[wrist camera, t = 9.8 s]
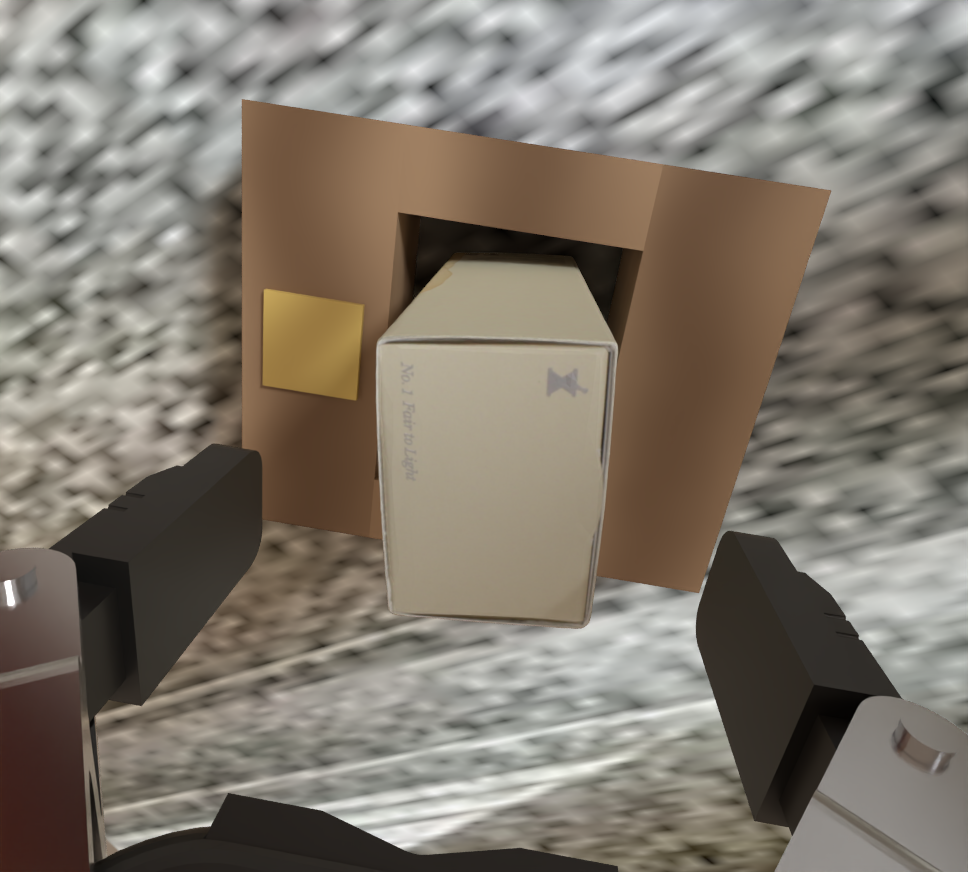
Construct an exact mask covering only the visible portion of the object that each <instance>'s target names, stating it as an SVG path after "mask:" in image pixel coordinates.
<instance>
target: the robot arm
mask: <svg viewBox="0 0 968 872" xmlns="http://www.w3.org/2000/svg"><path fill="white" fill-rule="evenodd" d="M261 536H262V459H261V455H260V453H259V452H258V451H256V450H250V449H244V448H238V447H232V446H226V445H220V444H211V445H210V446H208V447H207V448H206V449H204V450H203V451H202V452H200V453H199V454H198V455H197V456H195V457H194V458H193V459H191V460H190V461H189V462H188V463H186V464H185V465H184V466H174V467H172V468H169V469H166V470H164V471H161V472H158V473H156V474H153V475H150V476H148V477H146V478H145V479H143V480H142V481H141V482H139V483H138V484H137V485H135V486H134V487H132V488H131V489H130V490H128V491H127V492H126V495H125V496H124V495H122V496H120V497H119V498H117V499H116V500H115V501H113V502H112V503H111V504H109V507H108V509H105V508H104V509H102V510H101V511H100V512H98V513H97V514H96V515H94V516H93V517H92V518H90V519H89V520H87V521H86V522H85V523H83V524H82V525H81V526H79V527H78V528H77V529H75V530H74V531H72V532H71V533H70V534H68V535H67V536H66V537H64V538H63V539H61V540H60V541H59V542H57V543H56V544H55V545H53V546H52V547H51V548H49V549H44V548H20V549H11V550H6V551H0V872H618V866H614V865H608V864H603V863H598V862H592V861H587V860H582V859H576V858H571V857H566V856H560V855H555V854H550V853H544V852H539V851H534V850H528V849H523V848H514V849H500V850H487V851H473V852H460V853H447V854H433V855H417V854H412V853H409V852H407V851H404V850H402V849H400V848H398V847H396V846H394V845H392V844H390V843H388V842H386V841H384V840H382V839H380V838H377V837H375V836H373V835H371V834H369V833H367V832H365V831H363V830H361V829H359V828H357V827H355V826H353V825H351V824H349V823H346V822H344V821H342V820H340V819H338V818H336V817H334V816H332V815H330V814H328V813H326V812H324V811H321V810H315V809H310V808H305V807H299V806H294V805H289V804H283V803H278V802H273V801H267V800H262V799H257V798H251V797H246V796H241V795H235V794H230V793H228V795H227V797H226V798H225V800H224V802H223V804H222V806H221V808H220V810H219V812H218V814H217V816H216V818H215V819H214V821H213V823H212V825H211V827H199V828H193V829H188V830H182V831H177V832H172V833H169V834H165V835H162V836H158V837H155V838H152V839H148V840H145V841H143V842H140V843H137V844H135V845H132V846H130V847H127V848H125V849H122V850H120V851H118V852H116V853H114V854H112V855H110V856H108V857H107V850H106V849H107V848H106V837H105V825H104V812H103V799H102V787H101V774H100V761H99V749H98V736H97V726H96V718H95V715H96V714H97V713H98V712H99V710H100V709H101V708H102V707H103V706H104V705H105V703H106V702H107V701H108V700H112V701H117V702H123V703H128V704H134V705H139V706H142V705H143V704H144V702H145V701H146V700H147V699H148V697H149V696H150V695H151V693H152V692H153V691H154V690H155V688H156V687H157V686H158V684H159V683H160V682H161V681H162V679H163V678H164V677H165V675H166V674H167V673H168V672H169V670H170V669H171V668H172V666H173V665H174V664H175V663H176V661H177V660H178V659H179V657H180V656H181V655H182V654H183V652H184V651H185V650H186V648H187V647H188V646H189V645H190V643H191V642H192V641H193V639H194V638H195V637H196V635H197V634H198V633H199V632H200V630H201V629H202V628H203V626H204V625H205V624H206V623H207V621H208V620H209V619H210V617H211V616H212V615H213V614H214V612H215V611H216V610H217V608H218V607H219V606H220V605H221V603H222V602H223V601H224V599H225V598H226V597H227V596H228V594H229V593H230V592H231V590H232V589H233V588H234V587H235V585H236V584H237V583H238V581H239V580H240V579H241V578H242V576H243V575H244V574H245V572H246V571H247V570H248V569H249V567H250V566H251V565H252V563H253V561H254V559H255V557H256V555H257V552H258V549H259V546H260V542H261ZM858 637H859V635H858V633H857V632H856V631H855V629H854V628H853V626H852V625H851V623H850V622H849V621H846V616H845V614H844V613H843V611H842V610H841V609H840V607H839V606H838V604H837V603H836V601H835V600H834V598H833V597H832V595H831V594H830V593H829V592H827V591H826V590H825V589H824V588H823V587H821V586H820V585H819V584H818V583H817V582H815V581H814V580H813V579H812V578H810V577H809V576H808V575H807V574H806V573H803V572H797V570H796V569H795V567H794V566H793V564H792V563H791V561H790V559H789V558H788V556H787V555H786V553H785V552H784V550H783V548H782V547H781V545H780V544H779V542H778V541H777V540H776V539H775V538H770V537H764V536H758V535H752V534H746V533H740V532H734V531H727V532H726V533H725V534H724V535H723V536H722V538H721V540H720V543H719V545H718V548H717V552H716V555H715V558H714V561H713V564H712V567H711V570H710V573H709V576H708V579H707V582H706V585H705V588H704V591H703V594H702V597H701V601H700V604H699V607H698V612H697V618H696V638H697V644H698V647H699V650H700V653H701V656H702V659H703V663H704V666H705V669H706V672H707V675H708V678H709V681H710V684H711V687H712V691H713V694H714V697H715V700H716V703H717V706H718V709H719V712H720V715H721V719H722V722H723V725H724V728H725V731H726V734H727V737H728V740H729V743H730V747H731V750H732V753H733V756H734V759H735V762H736V765H737V768H738V771H739V775H740V778H741V781H742V784H743V787H744V790H745V793H746V796H747V799H748V803H749V806H750V809H751V812H752V815H753V818H754V821H757V822H763V823H768V824H774V825H779V826H784V827H789V829H790V831H791V834H792V838H791V840H790V842H789V844H788V846H787V848H786V850H785V852H784V854H783V856H782V858H781V860H780V862H779V864H778V866H777V868H776V870H775V872H968V735H967V734H966V733H965V732H964V731H962V730H961V729H960V728H958V727H957V726H956V725H954V724H953V723H951V722H950V721H948V720H947V719H946V718H944V717H942V716H940V715H939V714H937V713H935V712H933V711H931V710H929V709H927V708H925V707H923V706H921V705H918V704H916V703H913V702H910V701H907V700H904V699H902V698H901V696H900V695H899V693H898V692H897V690H896V689H895V688H894V686H893V685H892V683H891V682H890V680H889V679H888V677H887V676H886V674H885V673H884V671H883V670H882V669H881V667H880V666H879V664H878V663H877V661H876V660H875V658H874V657H873V655H872V654H871V652H870V651H869V650H868V648H867V647H866V645H865V644H864V642H863V641H862V640H859V639H858Z"/></svg>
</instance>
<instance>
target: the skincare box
mask: <svg viewBox="0 0 968 872" xmlns="http://www.w3.org/2000/svg"><path fill="white" fill-rule="evenodd" d="M617 358H618V345H617V343H616V341H615V339H614V337H613V335H612V333H611V331H610V329H609V327H608V325H607V323H606V322H605V320H604V318H603V316H602V314H601V312H600V310H599V308H598V306H597V304H596V302H595V300H594V298H593V296H592V294H591V292H590V291H589V288H588V286H587V284H586V282H585V280H584V278H583V276H582V274H581V272H580V270H579V268H578V266H577V264H576V262H575V260H574V258H573V257H571V256H561V255H544V254H522V253H454V254H453V255H452V257H451V258H450V259H449V260H448V261H447V262H446V263H445V264H444V266H443V267H442V268H441V269H440V270H439V271H438V272H437V274H436V275H435V276H434V277H433V278H432V279H431V280H430V281H429V283H428V284H427V285H426V286H425V287H424V288H423V290H422V291H421V292H420V293H419V294H418V295H417V297H416V298H415V299H414V300H413V301H412V302H411V304H410V305H409V306H408V307H407V308H406V309H405V310H404V311H403V313H402V314H401V315H400V316H399V317H398V318H397V319H396V321H395V322H394V323H393V324H392V325H391V326H390V327H389V328H388V329H387V331H386V332H385V333H384V334H383V335H382V336H381V337H380V338H379V339H378V341H377V345H376V422H377V451H378V474H379V488H380V504H381V506H380V510H381V523H382V536H383V552H384V563H385V578H386V590H387V598H388V608H389V611H390V612H391V613H392V614H395V615H400V616H412V617H425V618H439V619H449V620H461V621H474V622H483V623H499V624H512V625H528V626H545V627H556V628H573V629H578V628H583V627H585V626H586V625H587V624H588V623H589V621H590V618H591V611H592V604H593V597H594V590H595V583H596V575H597V566H598V559H599V551H600V543H601V535H602V527H603V519H604V511H605V501H606V489H607V477H608V466H609V457H610V445H611V433H612V420H613V407H614V395H615V377H616V366H617Z"/></svg>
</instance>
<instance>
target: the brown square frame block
mask: <svg viewBox="0 0 968 872" xmlns="http://www.w3.org/2000/svg"><path fill="white" fill-rule="evenodd" d="M830 193H831V190H824V189H818V188H811V187H805V186H798V185H792V184H786V183H779V182H773V181H766V180H760V179H753V178H747V177H740V176H734V175H728V174H721V173H715V172H708V171H702V170H695V169H689V168H682V167H676V166H669V165H663V164H657V163H650V162H644V161H637V160H631V159H624V158H618V157H611V156H605V155H599V154H592V153H586V152H579V151H573V150H566V149H560V148H553V147H547V146H540V145H534V144H528V143H521V142H515V141H508V140H502V139H495V138H489V137H482V136H476V135H470V134H463V133H457V132H450V131H444V130H437V129H431V128H424V127H418V126H411V125H405V124H399V123H392V122H386V121H379V120H373V119H366V118H360V117H353V116H347V115H341V114H334V113H328V112H321V111H315V110H308V109H302V108H295V107H289V106H282V105H276V104H270V103H263V102H257V101H250V100H244V99H242V448H244V449H250V450H256V451H258V452H259V453H260V455H261V459H262V519H263V520H269V521H275V522H281V523H287V524H293V525H299V526H305V527H310V528H316V529H322V530H328V531H334V532H340V533H346V534H352V535H358V536H364V537H370V538H376V539H382V540H383V536H382V523H381V510H380V506H381V504H380V488H379V474H378V451H377V422H376V345H377V341H378V339H379V338H380V337H381V336H382V335H383V334H384V333H385V332H386V331H387V329H388V328H389V327H390V326H391V325H392V324H393V323H394V322H395V321H396V319H397V318H398V317H399V316H400V315H401V314H402V313H403V311H404V310H405V309H406V308H407V307H408V306H409V305H410V304H411V302H412V300H413V290H414V280H415V270H416V260H417V251H418V241H419V231H420V221H421V216H425V217H432V218H438V219H444V220H451V221H457V222H463V223H470V224H476V225H482V226H489V227H495V228H501V229H508V230H514V231H520V232H527V233H533V234H539V235H546V236H552V237H558V238H565V239H571V240H577V241H584V242H590V243H596V244H603V245H609V246H615V247H622V248H623V252H622V256H621V261H620V265H619V270H618V274H617V279H616V284H615V288H614V293H613V297H612V302H611V306H610V311H609V315H608V320H607V325H608V327H609V329H610V331H611V333H612V335H613V337H614V339H615V341H616V343H617V345H618V358H617V366H616V377H615V395H614V407H613V420H612V433H611V445H610V457H609V466H608V477H607V489H606V501H605V511H604V519H603V527H602V535H601V543H600V551H599V559H598V566H597V575H596V576H601V577H607V578H613V579H619V580H625V581H631V582H637V583H643V584H648V585H654V586H660V587H666V588H672V589H678V590H684V591H690V592H696V593H699V591H700V588H701V585H702V582H703V579H704V576H705V573H706V570H707V567H708V564H709V561H710V558H711V555H712V552H713V549H714V546H715V543H716V540H717V537H718V534H719V531H720V528H721V524H722V521H723V518H724V515H725V512H726V509H727V506H728V503H729V500H730V497H731V494H732V491H733V488H734V485H735V482H736V479H737V476H738V473H739V470H740V467H741V464H742V461H743V458H744V455H745V452H746V448H747V445H748V442H749V439H750V436H751V433H752V430H753V427H754V424H755V421H756V418H757V415H758V412H759V409H760V406H761V403H762V400H763V397H764V394H765V391H766V388H767V385H768V382H769V379H770V376H771V372H772V369H773V366H774V363H775V360H776V357H777V354H778V351H779V348H780V345H781V342H782V339H783V336H784V333H785V330H786V327H787V324H788V321H789V318H790V315H791V312H792V309H793V306H794V303H795V300H796V296H797V293H798V290H799V287H800V284H801V281H802V278H803V275H804V272H805V269H806V266H807V263H808V260H809V257H810V254H811V251H812V248H813V245H814V242H815V239H816V236H817V233H818V230H819V227H820V224H821V221H822V217H823V214H824V211H825V208H826V205H827V202H828V199H829V196H830Z"/></svg>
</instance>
